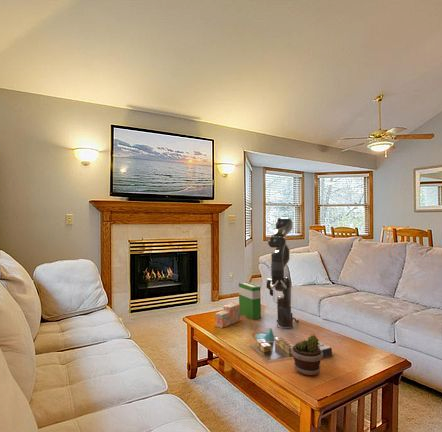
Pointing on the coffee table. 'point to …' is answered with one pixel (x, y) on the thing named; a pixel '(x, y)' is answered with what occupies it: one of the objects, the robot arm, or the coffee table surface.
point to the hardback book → (250, 300)
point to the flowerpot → (307, 356)
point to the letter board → (272, 348)
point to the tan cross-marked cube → (288, 348)
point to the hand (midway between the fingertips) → (278, 295)
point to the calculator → (324, 349)
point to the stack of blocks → (228, 315)
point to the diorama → (266, 335)
